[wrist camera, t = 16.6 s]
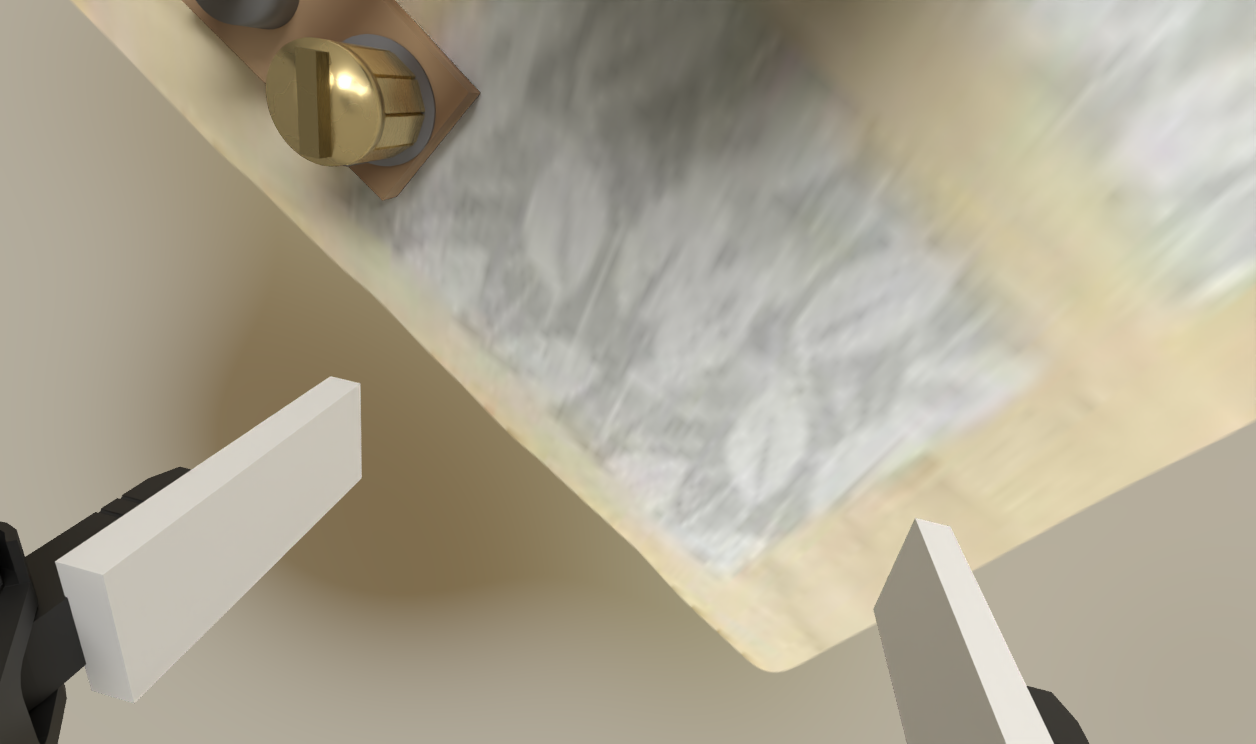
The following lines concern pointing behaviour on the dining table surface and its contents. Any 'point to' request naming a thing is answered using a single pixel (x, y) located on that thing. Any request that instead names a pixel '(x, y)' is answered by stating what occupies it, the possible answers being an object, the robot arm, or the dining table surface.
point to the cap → (343, 101)
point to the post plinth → (357, 14)
